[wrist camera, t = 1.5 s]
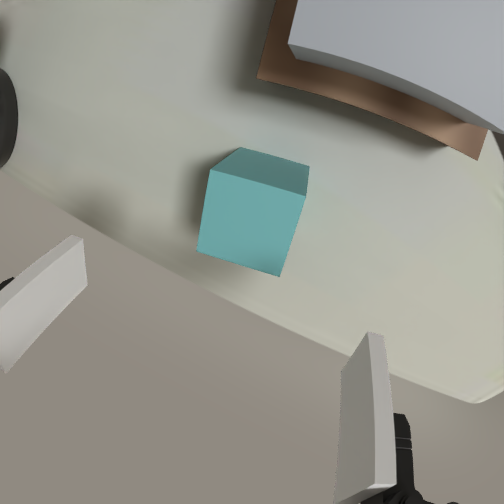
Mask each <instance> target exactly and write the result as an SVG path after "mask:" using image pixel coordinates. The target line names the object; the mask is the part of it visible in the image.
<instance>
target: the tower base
mask: <svg viewBox="0 0 504 504" xmlns="http://www.w3.org/2000/svg"><path fill="white" fill-rule="evenodd" d="M297 3H298V0H276V3H275V7H274V11H273V14H272V18H271V22H270V26H269V29H268V33H267V37H266V41H265V45H264V49H263V53H262V57H261V61H260V65H259V69H258V73H257V77H256V78H257V79H261V80H264V81H268V82H272V83H276V84H280V85H284V86H288V87H292V88H296V89H300V90H303V91H307V92H311V93H314V94H318V95H321V96H324V97H328V98H331V99H334V100H337V101H340V102H343V103H346V104H349V105H352V106H355V107H358V108H361V109H364V110H366V111H369V112H372V113H374V114H377V115H380V116H382V117H385V118H387V119H390V120H392V121H395V122H397V123H400V124H402V125H404V126H407V127H409V128H411V129H414V130H416V131H418V132H420V133H422V134H425V135H427V136H429V137H431V138H433V139H435V140H437V141H439V142H441V143H443V144H445V145H447V146H449V147H451V148H454V149H456V150H458V151H460V152H462V153H464V154H465V155H467V156H469V157H471V158H473V159H475V160H477V161H478V158H479V155H480V152H481V149H482V146H483V143H484V140H485V137H486V134H487V131H488V129H486V128H483V127H479V126H476V125H473V124H469V123H466V122H464V121H462V120H460V119H459V118H457V117H455V116H453V115H451V114H449V113H447V112H445V111H443V110H441V109H439V108H437V107H434V106H432V105H430V104H428V103H426V102H424V101H421V100H419V99H417V98H414V97H412V96H410V95H407V94H405V93H403V92H400V91H398V90H395V89H393V88H390V87H387V86H385V85H382V84H379V83H377V82H374V81H371V80H368V79H365V78H362V77H359V76H356V75H353V74H350V73H347V72H343V71H340V70H337V69H333V68H330V67H326V66H323V65H319V64H315V63H311V62H307V61H303V60H299V59H296V58H295V56H294V54H293V52H292V50H291V49H290V47H289V45H288V40H289V36H290V32H291V28H292V24H293V19H294V15H295V11H296V7H297Z"/></svg>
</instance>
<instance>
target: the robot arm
mask: <svg viewBox="0 0 504 504" xmlns="http://www.w3.org/2000/svg"><path fill="white" fill-rule="evenodd" d="M16 131H17V103H16V96H15V92H14V88H13V85H12V82H11V80H10V78H9V76H8V75H7V73H6V72H5V71H3V70H2V69H0V167H1V166H3V165H4V164H5V163H6V162H7V160H8V159H9V157H10V155H11V152H12V150H13V147H14V143H15V138H16ZM87 285H88V283H87V274H86V265H85V254H84V242H83V238H80V237H77V236H75V235H72V234H71V235H70V236H69V237H67V238H66V239H64V240H63V241H62V242H60V243H59V244H58V245H57V246H55V247H54V248H52V249H51V250H50V251H48V252H47V253H46V254H45V255H43V256H42V257H41V258H39V259H38V260H37V261H36V262H34V263H33V264H32V265H31V266H29V267H28V268H27V269H26V270H24V271H23V272H22V273H21V274H20V275H18V276H17V277H16V278H13V277H12V278H10V279H8V280H5V281H3V282H2V283H1V284H0V369H1V370H2V371H3V372H5V373H7V372H8V371H9V370H10V369H11V367H12V366H13V365H14V364H15V362H16V361H17V360H18V359H19V358H20V357H21V356H22V354H23V353H24V352H25V351H26V350H27V349H28V347H29V346H30V345H31V344H32V343H33V342H34V341H35V340H36V338H37V337H38V336H39V335H40V334H41V333H42V332H43V331H44V330H45V329H46V328H47V327H48V325H49V324H50V323H51V322H52V321H53V320H54V319H55V318H56V317H57V316H58V315H59V314H60V313H61V312H62V311H63V310H64V308H65V307H66V306H67V305H68V304H69V303H70V302H71V301H72V300H73V299H74V298H75V297H76V296H77V295H78V294H79V293H80V292H81V291H82V290H83V289H84V288H85V287H86V286H87ZM340 404H341V405H340V406H341V407H340V428H339V444H338V458H337V459H338V460H337V471H336V482H335V491H334V501H333V504H358V503H361V504H434V503H431V502H427V501H425V500H423V497H422V495H421V494H420V493H419V492H418V491H417V490H415V487H414V475H413V457H412V450H411V448H412V443H411V441H410V439H411V432H410V425H409V423H408V421H407V419H406V417H405V415H404V414H397V413H393V406H392V396H391V387H390V379H389V370H388V363H387V356H386V349H385V342H384V336H383V335H380V334H376V333H372V332H369V331H368V332H367V333H366V335H365V336H364V338H363V339H362V341H361V343H360V344H359V346H358V347H357V349H356V350H355V352H354V353H353V355H352V356H351V358H350V359H349V361H348V362H347V364H346V365H345V366H344V368H343V369H342V371H341V403H340ZM447 504H458V503H456V502H451V503H447Z"/></svg>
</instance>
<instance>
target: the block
mask: <svg viewBox="0 0 504 504" xmlns="http://www.w3.org/2000/svg"><path fill="white" fill-rule="evenodd" d="M308 175H309V166H306V165H303V164H300V163H296V162H293V161H290V160H286V159H283V158H279V157H276V156H272V155H268V154H265V153H261V152H257V151H254V150H250V149H246V148H242V147H240V148H239V149H237V150H236V151H234V152H233V153H232V154H230V155H229V156H228V157H226V158H225V159H224V160H222V161H221V162H219V163H218V164H217V165H215V166H214V167H213V168H211V169H210V173H209V178H208V184H207V189H206V195H205V201H204V207H203V213H202V219H201V225H200V231H199V237H198V244H197V250H196V251H197V252H200V253H203V254H206V255H210V256H213V257H216V258H219V259H222V260H226V261H229V262H232V263H235V264H239V265H242V266H245V267H248V268H252V269H255V270H258V271H261V272H265V273H268V274H271V275H275V276H278V277H280V274H281V271H282V268H283V265H284V262H285V259H286V256H287V253H288V250H289V247H290V244H291V241H292V238H293V235H294V232H295V229H296V226H297V223H298V220H299V217H300V214H301V211H302V208H303V204H304V201H305V198H306V193H307V184H308Z"/></svg>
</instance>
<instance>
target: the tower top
mask: <svg viewBox="0 0 504 504" xmlns="http://www.w3.org/2000/svg"><path fill="white" fill-rule="evenodd" d="M288 45H289V47H290V49H291V50H292V52H293V54H294V56H295V58H296V59H299V60H303V61H307V62H311V63H315V64H319V65H323V66H326V67H330V68H333V69H337V70H340V71H343V72H347V73H350V74H353V75H356V76H359V77H362V78H365V79H368V80H371V81H374V82H377V83H379V84H382V85H385V86H387V87H390V88H393V89H395V90H398V91H400V92H403V93H405V94H407V95H410V96H412V97H414V98H417V99H419V100H421V101H424V102H426V103H428V104H430V105H432V106H434V107H437V108H439V109H441V110H443V111H445V112H447V113H449V114H451V115H453V116H455V117H457V118H459V119H460V120H462V121H464V122H466V123H469V124H473V125H476V126H479V127H483V128H486V129H489V130H492V131H495V132H498V133H501V134H504V0H298V3H297V7H296V11H295V15H294V19H293V24H292V28H291V32H290V36H289V40H288Z"/></svg>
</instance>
